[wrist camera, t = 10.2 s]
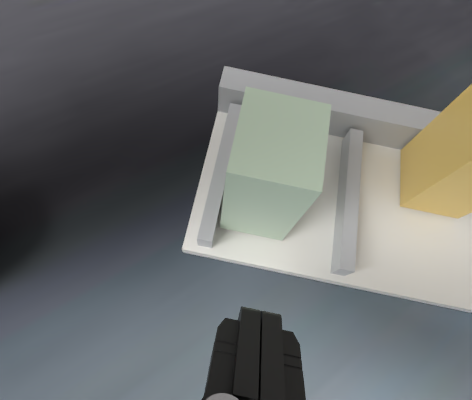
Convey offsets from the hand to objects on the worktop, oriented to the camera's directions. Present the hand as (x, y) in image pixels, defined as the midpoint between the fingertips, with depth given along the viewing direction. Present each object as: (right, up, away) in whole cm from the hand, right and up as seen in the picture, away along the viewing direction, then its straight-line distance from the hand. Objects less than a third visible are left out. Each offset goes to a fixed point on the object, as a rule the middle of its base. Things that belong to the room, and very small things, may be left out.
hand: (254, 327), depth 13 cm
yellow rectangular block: (+14, +6, +14) cm, 21 cm away
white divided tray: (+14, +4, +14) cm, 20 cm away
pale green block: (+1, +5, +12) cm, 13 cm away
